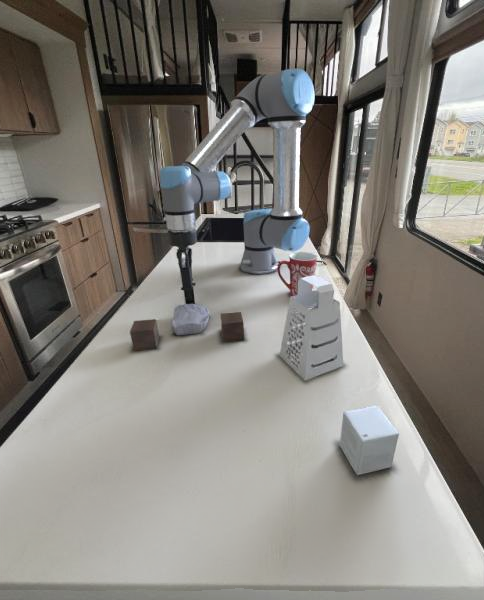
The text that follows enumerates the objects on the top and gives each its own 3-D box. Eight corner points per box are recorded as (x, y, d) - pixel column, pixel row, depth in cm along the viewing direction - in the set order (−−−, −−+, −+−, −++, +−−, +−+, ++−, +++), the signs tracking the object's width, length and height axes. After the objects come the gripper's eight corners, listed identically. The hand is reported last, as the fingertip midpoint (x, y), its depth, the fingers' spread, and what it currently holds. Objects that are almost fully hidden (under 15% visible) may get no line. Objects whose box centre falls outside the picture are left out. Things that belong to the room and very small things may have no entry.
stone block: (207, 317, 98) (174, 315, 96) (209, 304, 96) (175, 300, 94) (208, 340, 88) (170, 337, 85) (211, 325, 86) (172, 322, 83)
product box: (392, 468, 50) (400, 434, 47) (356, 476, 49) (361, 442, 46) (371, 437, 55) (377, 404, 52) (338, 443, 54) (342, 410, 51)
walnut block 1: (159, 337, 86) (156, 318, 83) (156, 348, 81) (153, 329, 78) (138, 339, 85) (134, 320, 83) (134, 350, 80) (129, 331, 78)
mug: (313, 288, 112) (315, 251, 106) (316, 300, 104) (319, 260, 98) (276, 289, 112) (277, 251, 106) (277, 300, 104) (277, 260, 98)
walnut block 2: (241, 329, 88) (241, 311, 86) (244, 340, 83) (243, 321, 81) (221, 331, 88) (220, 313, 85) (222, 342, 83) (221, 323, 80)
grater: (305, 380, 69) (310, 295, 60) (279, 355, 77) (280, 277, 68) (343, 365, 73) (353, 284, 64) (315, 343, 81) (320, 268, 73)
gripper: (169, 224, 91) (179, 299, 102) (164, 236, 80) (176, 319, 90) (196, 223, 92) (203, 297, 102) (195, 234, 81) (203, 317, 91)
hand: (190, 307), depth 96 cm, fingers closed
